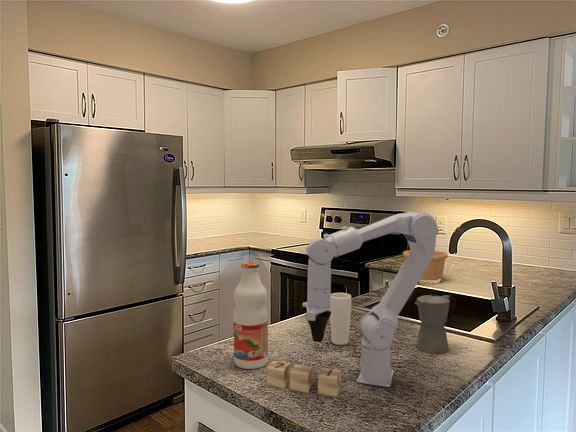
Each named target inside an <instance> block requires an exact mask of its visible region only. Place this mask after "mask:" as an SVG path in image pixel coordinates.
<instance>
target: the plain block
mask: <svg viewBox="0 0 576 432" xmlns="http://www.w3.org/2000/svg"><path fill="white" fill-rule="evenodd" d="M292 367H293V368H292V369H290V381H289V390H290V391H295V392H300V393H309V392H310V390H311V389H312V387H313V385H314V366H307V365H302V364H301V365H300V364H295V365H294V366H292Z"/></svg>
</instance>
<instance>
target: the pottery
mask: <svg viewBox="0 0 576 432" xmlns="http://www.w3.org/2000/svg"><path fill="white" fill-rule="evenodd" d="M410 252H411V250H410V249H409V250H404V251H403V252H402V257H404V259H405V260H406V259H407V257H408V256H409V254H410ZM448 255H449V254H448V253H447V252H444V251H440V250H435V255H434V257H433V259H432V260H431V262H430V264H429V265H428V267H427V268H426V270H425V272H424V273H423V275H422V277H421V278H420V280H438V279H441V278H442V279H443V274H444V268H445V262H446V259H448V257H449V256H448Z"/></svg>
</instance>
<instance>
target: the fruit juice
mask: <svg viewBox="0 0 576 432" xmlns="http://www.w3.org/2000/svg"><path fill="white" fill-rule="evenodd" d="M240 269H241V271H242V273H241V276H240V280H239V282H238V284H237V286H236V288H235V289H234V292H233V300H234V304H235V307H234V309H233V361H234V364H235V366H237V368H241V369H245V370H254V369H255V370H256V369H259V368H262V367H264V366H266V365H267V363H268V360H269V326H268V325H269V321H268V320H269V314H268V309H267V305H266V303H267V300H268V299H267V298H268V292H267V289H266V287H265V285H263V283H262V281H261V277H260V274H259V269H260V263H259V262H257V261H244V262H241V264H240Z"/></svg>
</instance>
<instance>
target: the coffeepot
mask: <svg viewBox="0 0 576 432" xmlns="http://www.w3.org/2000/svg"><path fill="white" fill-rule="evenodd" d="M436 294H437V290H436V289H434V288H433V289H430V294H429V295H426V294H425V295H421V296H419V297H416V301H415V302H414V303H415V305H416V306H417V309H418V317H419V321H420V326H419V329H418V330H419V331H418V334H417V340H416V344H415V346H416V348H417V349H418V350H419V351H421V352H423V353H426V354H432V355H439V354H440V355H441V354H446V353H447V352H448V350H449V341H448V336H447V329H446V328H445V324H446V323H448V322H450V321H452V318H453V314H454V311H455V307H456V304H457V303H456V302H457V300H456V298H455V296H454V295H453V294H448V295H447V294H446V295H445V294H443V295H441V296H440V295H436Z"/></svg>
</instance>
